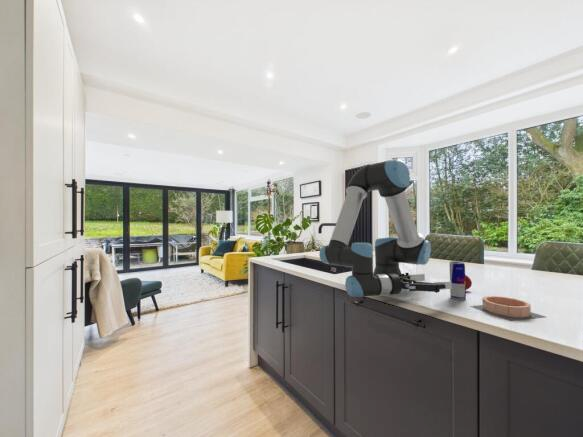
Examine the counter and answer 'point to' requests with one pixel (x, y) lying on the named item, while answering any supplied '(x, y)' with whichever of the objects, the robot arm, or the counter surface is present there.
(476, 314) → the counter surface
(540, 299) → the counter surface
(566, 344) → the counter surface
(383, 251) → the robot arm
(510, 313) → the bowl
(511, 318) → the mat
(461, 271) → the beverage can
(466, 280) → the onion
